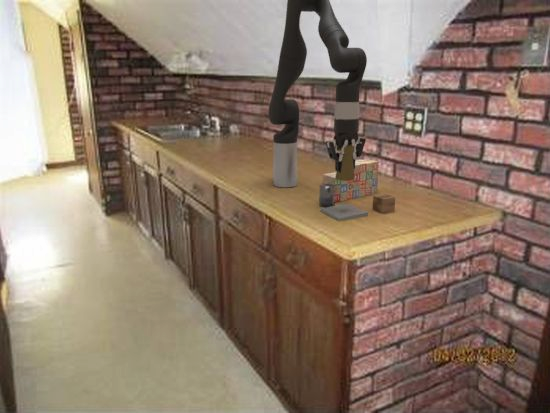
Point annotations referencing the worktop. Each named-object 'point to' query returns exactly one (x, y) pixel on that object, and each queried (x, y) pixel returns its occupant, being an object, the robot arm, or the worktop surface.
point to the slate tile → (343, 212)
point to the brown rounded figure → (346, 165)
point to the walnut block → (383, 203)
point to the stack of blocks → (355, 181)
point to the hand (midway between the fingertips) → (345, 171)
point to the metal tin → (326, 195)
